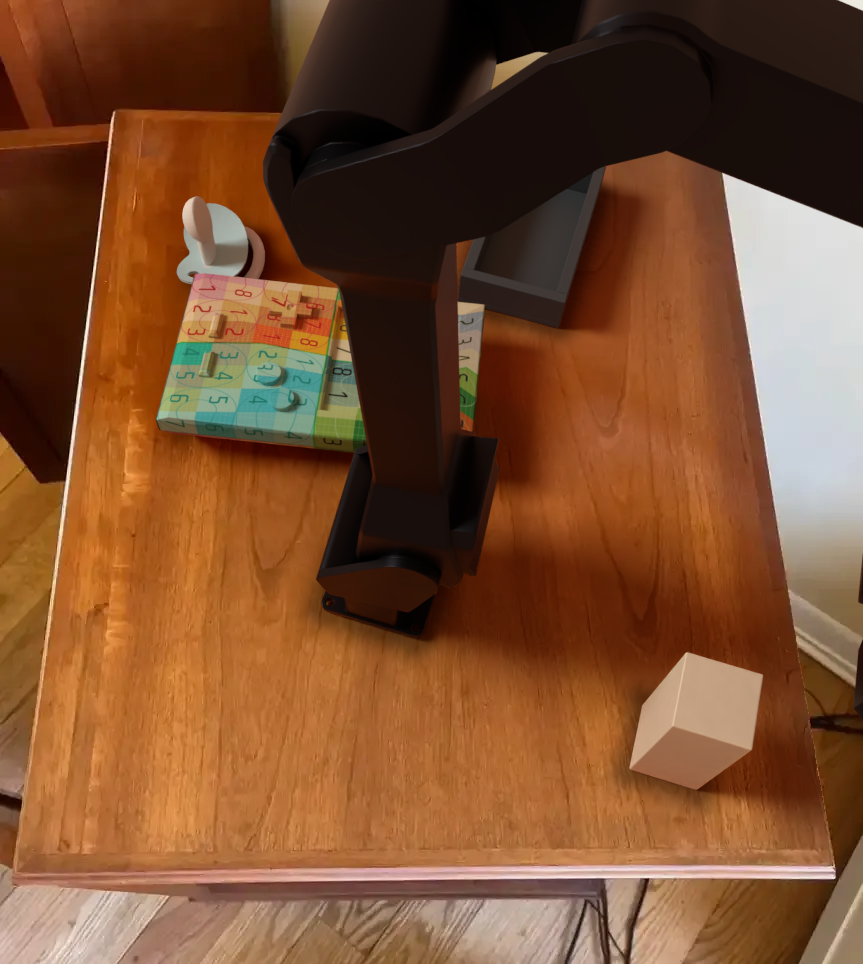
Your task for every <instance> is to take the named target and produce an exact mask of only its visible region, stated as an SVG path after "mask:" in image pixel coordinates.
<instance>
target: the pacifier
mask: <svg viewBox="0 0 863 964" xmlns="http://www.w3.org/2000/svg"><path fill="white" fill-rule="evenodd" d="M182 208H183V209H182V213H181V214H182V215H181V216H182V217H181V218H182V223H183V226H184V227H183V239H184V243H185V245H186V248H187V250H188V251H189V253H188V255H187V256H185V257H184V258H183V260H181V261H180V262H179V264H178V266H177V269H176V275H177V277H178V279H179V281H181V282H183V283H185V284H188V285H192V281H193V278H194V276H192V277H191V276H190V275H194V274H202V273H207V274H216V275H225V276H234V277H238V276H239V274H240V273H242V271H243V270H244V268H245V265H246V264H247V260H248V254H249V246H250V247H251V250H252V253H253V255H252V256H253V257H252V262H251V266H250V268H249V269H248V271H247V272H246V274H245V275H244V276H243V277H242V278H251V279H260V277H261V275H262V272H263V271H264V267H265V262H266V251H265V246H264V243H263V241H262V238H261V237H260V235H258V234H257V232H255V231H254V230H253V229H252V228H251V227H248V226H245V225H244V224H243V222H242V220H241V219H240V217H239V216H238V215H237V213H235V212H234V211H233V210H231V209H230V208H228V207H227V206H224V205H222V204H219V203H214V202H213V203H212V202H209V203H206V202H205V200H204V199H203V198H202V197H201V196H197V195H196V196H194V197H190V198H189V199H188V200H187V201H186V202H185V203H184V205H183V207H182Z"/></svg>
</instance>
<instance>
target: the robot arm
mask: <svg viewBox="0 0 863 964" xmlns="http://www.w3.org/2000/svg"><path fill="white" fill-rule="evenodd" d="M314 34H315V35H313V38H312V41H311V43H310V45H309V48H308V51H307V53H306V55H305V57H304V60H303V62H302V65H301V67H300V70H299V72H298V74H297V77H296V79H295V81H294V84H293V86H292V88H291V90H290V93H289V95H288V98H287V100H286V103H285V105H284V108H283V110H282V112H281V115H280V117H279V119H278V122H277V124H276V126H275V129H274V132H273V133H272V136H271V138H270V141H269V143H268V146H267V147H266V151H265V154H264V156H263V160H262V179H263V184H264V187H265V189H266V192H267V195H268V197H269V200H270V202H271V204H272V206H273V209H274V210H275V213H276V215H277V218H278V219H279V221H280V223H281V226H282V228H283V230H284V232H285V234H286V236H287V237H286V238H287V239H288V241H289V244H290V245H291V247H292V249H293V252H294V253H295V256H296V258H297V260H298V261H299V263H300V264H301V265H302V266H303V268H305V269H307V270H308V271H310V272H312V273H314V274H316V275H318V276H320V277H321V278H324V279H325V280H327V281H329V282H331V283H333V284H335V285H336V288H338V289H339V292H340V298H341V303H342V309H343V314H344V320H345V325H346V331H347V336H348V342H349V347H350V353H351V358H352V364H353V369H354V375H355V380H356V386H357V391H358V397H359V402H360V408H361V413H362V419H363V424H364V430H365V435H366V441H367V445H366V446H362V447H359V448H356V449H355V452H354V453H353V455H352V459H351V463H350V466H349V469H348V473H347V475H346V479H345V482H344V485H343V488H342V491H341V495H340V499H339V502H338V505H337V509H336V511H335V514H334V519H333V522H332V525H331V528H330V531H329V534H328V538H327V541H326V544H325V548H324V551H323V555H322V558H321V561H320V565H319V566H318V567H319V568H318V570H317V574H316V577H315V581H316V582H317V583H318V584H319V585H320V586H321V588H323V590H324V593H323V596H322V598H321V607H322V609H323V610H324V611H325V612H327V613H331V614H333V615H337V616H339V617H344V618H346V619H350V620H354V621H356V622H360V623H363V624H365V625H370V626H373V627H377V628H380V629H383V630H386V631H390V632H392V633H396V634H400V635H403V636H406V637H409V638H412V639H418V638H420V637H422V636H423V634H424V632H425V628H426V625H427V623H428V620H429V617H430V613H431V610H432V607H433V603H434V601H435V598H436V595H437V593H438V592H439V588H440V586H443V587H445V588H447V589H453V588H456V587H457V586H458V585H461V583H462V580H463V578H464V575H468V576H470V577H476V576H477V573H478V569H479V564H480V559H481V555H482V552H483V551H482V550H483V548H484V547H483V546H484V542H485V538H486V533H487V528H488V524H489V519H490V514H491V510H492V507H493V501H494V498H495V493H496V488H497V484H498V480H499V475H500V470H501V467H500V466H499V464H498V463H497V462H496V453H497V451H498V446H499V441H500V438H499V437H489V436H479V435H478V434H476V432H475V431H474V432H471V431H467V430H463V429H461V422H460V379H459V337H458V265H457V264H458V257H457V253H458V252H457V244H458V243H459V244H460V243H463V242H468V241H473V240H474V239H478V238H482V237H487V236H489V235H491V234H494V233H496V232H499V231H500V230H502V229H504V228H505V227H507V226H508V225H510V224H512V223H513V222H515V221H516V220H518V219H520V218H521V217H523V216H524V215H526V214H528V213H529V212H531V211H532V210H534V209H535V208H537V207H539V206H540V205H542V204H543V203H545V202H547V201H548V200H550V199H551V198H553V197H555V196H556V195H558V194H559V193H561V192H563V191H564V190H566V189H567V188H569V187H570V186H572V185H574V184H575V183H577V182H578V181H580V180H582V179H583V178H585V177H586V176H588V175H590V174H591V173H593V172H594V171H596V170H598V169H600V168H602V167H605V166H606V167H608V166H613V165H617V164H622V163H626V162H629V161H635V160H637V159H638V160H639V159H641V158H646V157H649V156H654V155H658V154H662V153H664V152H667V153H670V154H673V155H675V156H678V157H681V158H683V159H685V160H687V161H691V162H693V163H696V164H699V165H701V166H703V167H705V168H709V169H710V170H713V171H717V172H718V173H721V174H723V175H727V176H728V177H731V178H734V179H737V180H739V181H742V182H743V183H746V184H749V185H752V186H754V187H757V188H759V189H762V190H765V191H767V192H770V193H772V194H774V195H777V196H780V197H782V198H785V199H787V200H790V201H793V202H795V203H798V204H800V205H802V206H805V207H808V208H810V209H813V210H816V211H817V212H820V213H823V214H826V215H828V216H831V217H832V218H833V217H834V218H836V219H839V220H841V221H844V222H846V223H849V224H851V225H854V226H856V227H859V228H861V229H863V9H860V8H858V7H855V6H853V5H851V4H848V3H847V2H844V1H842V0H328V3H327V5H326V8H325V9H324V13H323V15H322V17H321V19H320V21H319V24H318V26H317V29H316V31H315V33H314ZM535 53H543V55H541V56H540V57H538V58H537V59H535V60H533V61H532V62H530V63H529V64H527V65H526V66H525V67H523V68H521V69H520V70H519V71H517V72H515V73H514V74H513V75H511V76H510V77H508V78H506V79H505V80H504V81H502V82H501V83H499V84H498V85H496V86H494V87H493V83H494V79H495V75H496V68H497V66H498V65H500V64H504V63H507V62H510V61H514V60H516V59H520V58H522V57H525V56H529V55H533V54H535ZM861 558H862V559H861V566H860V577H859V586H858V595H857V597H858V598H857V602H858V604H860V605H863V554H862V556H861ZM329 601H331V602H333V603H332V605H329V604H328V605H327V603H328V602H329ZM414 627H417V628H418V631H414V630H413V628H414ZM853 695H854V696H853V710H854V711H855V712H856V714H857V715H858V716H859V718H860V719H861V721H863V638H862V640H861V642H860V644H859V647H858V650H857V659H856V673H855V685H854V694H853Z"/></svg>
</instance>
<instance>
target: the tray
mask: <svg viewBox="0 0 863 964" xmlns="http://www.w3.org/2000/svg"><path fill="white" fill-rule="evenodd" d="M606 170H607V166H605V167H602V168H600V169H598V170H596V171H594V172H593V173H591V174H590V175H588V176H586V177H585V178H583V179H582V180H580V181H578V182H577V183H575V184H574V185H572V186H570V187H569V188H567V189H566V190H564V191H563V192H561V193H559V194H558V195H556V196H555V197H553V198H551V199H550V200H548V201H547V202H545V203H543V204H542V205H540V206H539V207H537V208H535V209H534V210H532V211H531V212H529V213H528V214H526V215H524V216H523V217H521V218H520V219H518V220H516V221H515V222H513V223H512V224H510V225H508V226H507V227H505V228H504V229H502V230H500V231H499V232H496V233H494V234H491V235H489V236H487V237H482V238H478V239H473V240H472V242H471V245H470V248H469V251H468V253H467V256H466V259H465V262H464V264H463V267H462V269H461V273H460V276H459V283H458V284H459V286H458V292H457V294H458V302H463V303H473V304H482V305H485V310H489V311H492V312H496V313H500V314H504V315H507V316H509V317H514V318H518V319H522V320H525V321H530V322H533V323H537V324H541V325H545V326H548V327H552V328H555V329H559V328H560V327H561V323H562V318H563V315H564V312H565V309H566V306H567V303H568V299H569V296H570V292H571V290H572V289H571V288H572V285H573V282H574V279H575V275H576V273H577V269H578V265H579V261H580V259H581V256H582V252H583V249H584V246H585V242H586V239H587V236H588V233H589V229H590V226H591V222H592V219H593V215H594V212H595V209H596V207H597V206H596V205H597V203H598V199H599V196H600V192H601V189H602V186H603V185H602V184H603V180H604V178H605V177H604V176H605V173H606Z"/></svg>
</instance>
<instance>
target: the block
mask: <svg viewBox="0 0 863 964" xmlns="http://www.w3.org/2000/svg"><path fill="white" fill-rule="evenodd" d="M763 681H764V675H763V674H762V673H759V672H756V671H752V670H748V669H746V668H743V667H738V666H735V665H732V664H729V663H725V662H722V661H719V660H715V659H711V658H709V657H705V656H701V655H699V654H695V653H692V652H689V651H687V652H685V653H684V654H683V655H682V657H681V658H680V659H679V661H678V662H677V663H676V664H675V665H674V666H673V667H672V669H671V670H670V671H669V672H668V674H667V675H666V676H665V677H664V678H663V680H662V681H661V682H660V683H659V685H658V686H657V687H656V688H655V689H654V690H653V692H652V693H651V694H650V695H649V697H648V698H647V699H646V700H645V701H644V703H643V704H642V705H641V709H640V714H639V720H638V724H637V729H636V735H635V739H634V744H633V748H632V749H633V750H632V754H631V757H630V763H629V770H630V771H634V772H637V773H639V774H644V775H646V776H650V777H653V778H656V779H659V780H661V781H665V782H669V783H671V784H672V783H673V784H676V785H678V786H682V787H684V788H688V789H692V790H695V791H697V790H699V789H700V788H701V787H703V786H704V785H706V784H707V783H709V781H711V780H713V779H714V778H715V777H717V776H718V775H720V774H721V773H722V772H724V770H726V769H728V768H729V767H731V766H732V765H733V764H734V763H736V762H737V761H739V760H740V759H742V758H743V757H745V756H746V755H747V754H749V753H750V752H751V751H753V747H754V741H755V734H756V727H757V721H758V714H759V707H760V701H761V695H762V689H763Z"/></svg>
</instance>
